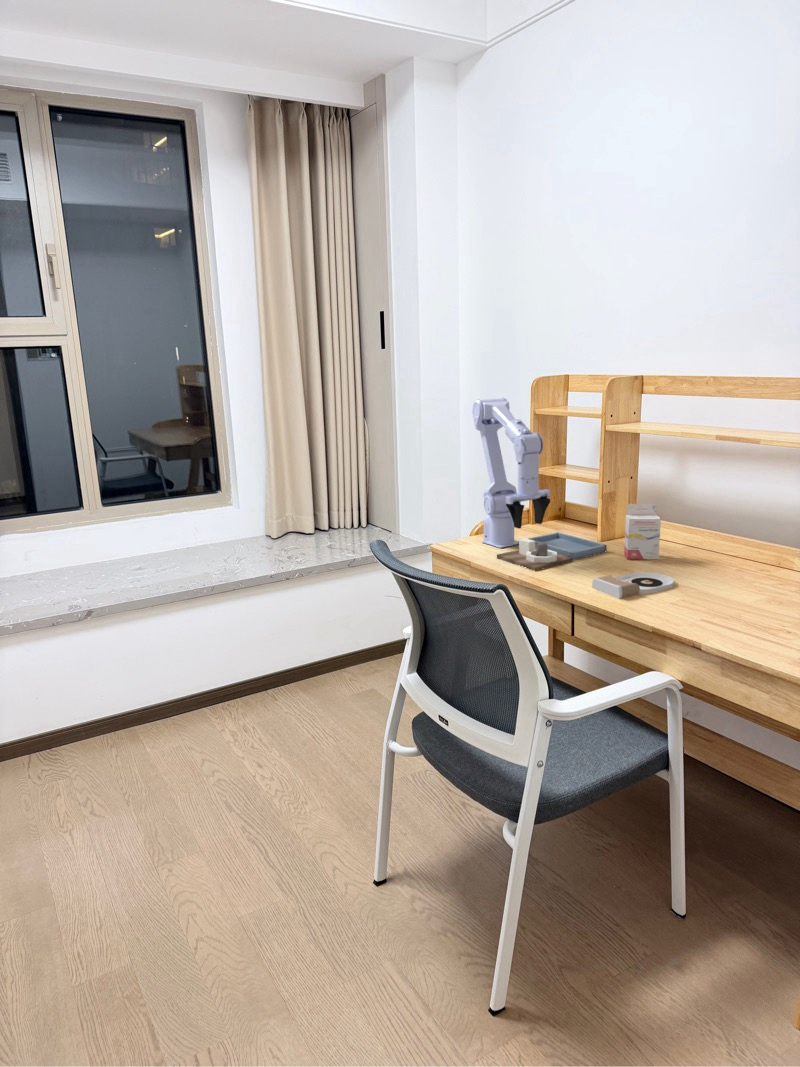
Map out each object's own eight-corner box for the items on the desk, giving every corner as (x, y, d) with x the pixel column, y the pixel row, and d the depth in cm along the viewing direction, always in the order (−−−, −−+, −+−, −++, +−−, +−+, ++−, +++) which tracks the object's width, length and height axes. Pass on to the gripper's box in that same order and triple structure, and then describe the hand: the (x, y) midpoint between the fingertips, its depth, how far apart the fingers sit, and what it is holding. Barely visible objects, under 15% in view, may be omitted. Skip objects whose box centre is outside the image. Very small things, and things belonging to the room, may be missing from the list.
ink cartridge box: (627, 560, 206) (629, 507, 202) (623, 555, 210) (625, 504, 207) (659, 559, 205) (661, 507, 201) (655, 554, 209) (657, 503, 206)
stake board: (496, 558, 213) (496, 541, 212) (534, 549, 220) (534, 533, 219) (534, 570, 200) (534, 552, 198) (573, 561, 206) (573, 543, 205)
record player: (589, 576, 184) (648, 564, 193) (588, 588, 185) (648, 575, 194) (623, 589, 174) (684, 575, 183) (622, 601, 175) (683, 587, 184)
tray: (525, 545, 224) (525, 539, 224) (557, 538, 231) (557, 532, 230) (573, 560, 208) (573, 553, 207) (606, 551, 214) (606, 545, 214)
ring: (511, 555, 212) (511, 541, 211) (533, 550, 216) (533, 536, 215) (540, 564, 201) (540, 550, 200) (563, 559, 206) (563, 545, 205)
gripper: (517, 483, 199) (517, 532, 203) (558, 476, 207) (557, 523, 210) (500, 479, 205) (501, 527, 209) (540, 473, 213) (540, 519, 216)
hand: (528, 525), depth 210 cm, fingers open, 7 cm apart
